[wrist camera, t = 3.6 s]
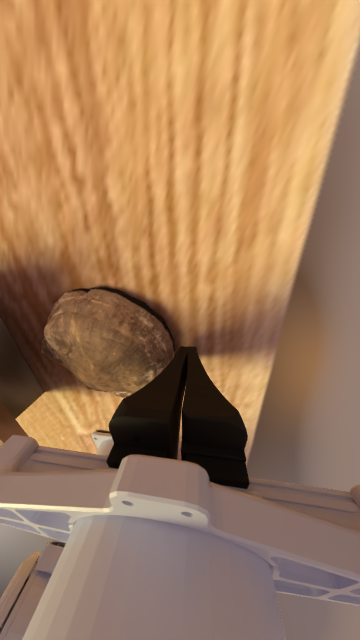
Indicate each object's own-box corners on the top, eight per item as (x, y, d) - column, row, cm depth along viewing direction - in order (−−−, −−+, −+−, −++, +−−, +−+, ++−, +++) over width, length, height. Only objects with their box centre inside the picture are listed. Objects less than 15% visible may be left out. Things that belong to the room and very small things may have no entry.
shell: (71, 250, 12) (21, 250, 8) (202, 337, 13) (203, 364, 10) (44, 347, 16) (6, 371, 13) (144, 401, 18) (132, 434, 15)
